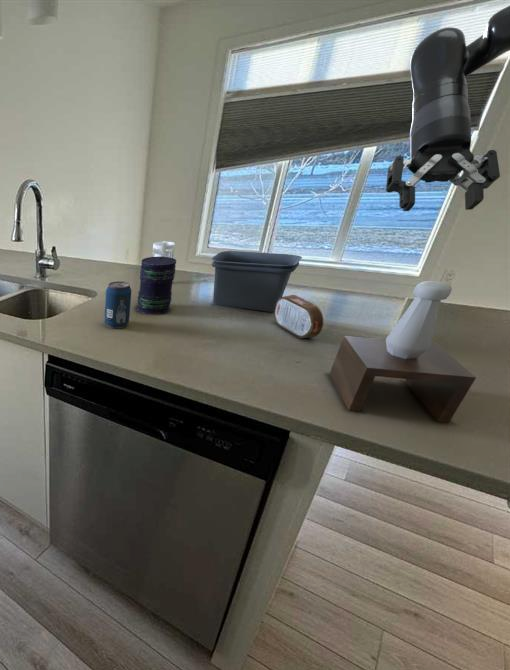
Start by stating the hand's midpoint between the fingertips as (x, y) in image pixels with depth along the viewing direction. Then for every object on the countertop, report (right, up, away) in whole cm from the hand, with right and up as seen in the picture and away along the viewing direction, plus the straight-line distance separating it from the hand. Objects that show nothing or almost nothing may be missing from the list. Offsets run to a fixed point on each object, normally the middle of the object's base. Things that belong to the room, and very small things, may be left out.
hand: (440, 207), depth 71 cm
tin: (-2, -18, +33) cm, 38 cm away
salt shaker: (-5, -26, +2) cm, 27 cm away
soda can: (-44, -14, +47) cm, 66 cm away
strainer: (-19, +6, +77) cm, 79 cm away
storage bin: (-3, -7, +52) cm, 53 cm away
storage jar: (-30, -8, +55) cm, 63 cm away
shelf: (-4, -34, +6) cm, 35 cm away
